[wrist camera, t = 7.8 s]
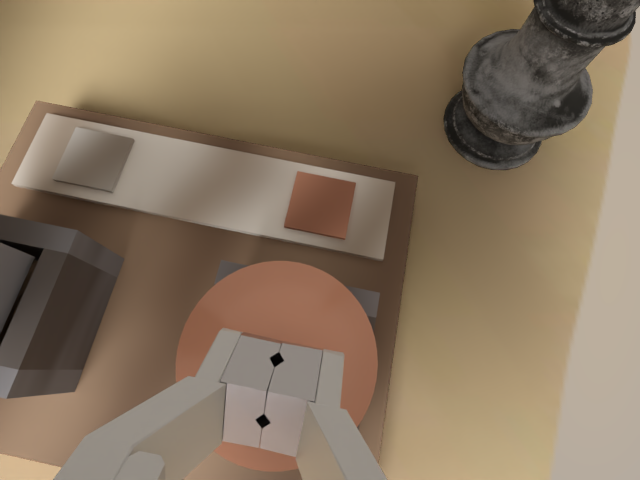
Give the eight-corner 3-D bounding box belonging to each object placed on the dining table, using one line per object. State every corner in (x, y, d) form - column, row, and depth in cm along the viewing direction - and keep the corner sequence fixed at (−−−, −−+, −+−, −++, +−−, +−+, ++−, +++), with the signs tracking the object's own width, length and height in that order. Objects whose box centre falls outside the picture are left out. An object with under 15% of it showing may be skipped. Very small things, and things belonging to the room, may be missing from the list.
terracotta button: (201, 419, 14) (146, 445, 9) (238, 282, 16) (208, 243, 11) (340, 450, 14) (359, 493, 9) (364, 308, 16) (391, 281, 11)
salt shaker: (441, 74, 22) (584, -239, 11) (545, 89, 22) (801, -210, 11) (434, 166, 20) (600, -95, 9) (548, 183, 20) (863, -57, 9)
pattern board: (-79, 417, 16) (-268, 440, 11) (61, 125, 20) (-24, 40, 15) (360, 515, 15) (389, 590, 10) (407, 194, 20) (443, 131, 14)
